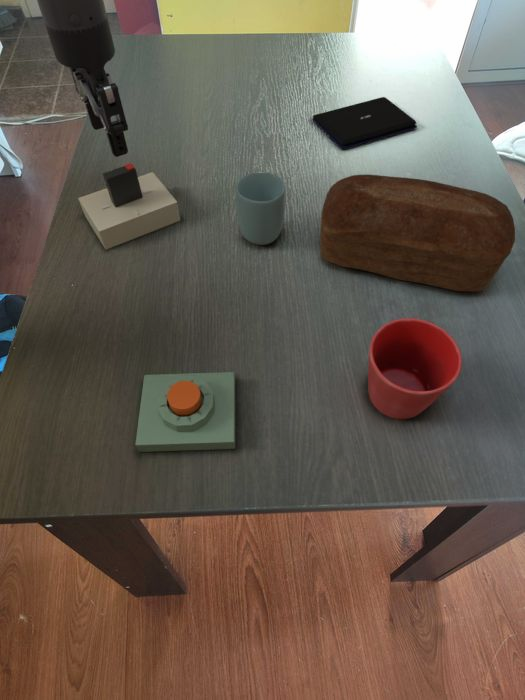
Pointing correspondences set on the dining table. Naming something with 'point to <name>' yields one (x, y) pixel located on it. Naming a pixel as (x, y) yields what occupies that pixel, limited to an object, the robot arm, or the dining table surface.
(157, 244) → the dining table surface
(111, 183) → the knob
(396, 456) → the dining table surface
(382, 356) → the flower pot
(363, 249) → the bread
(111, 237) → the panel
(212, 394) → the block
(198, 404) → the power button
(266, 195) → the cup
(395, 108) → the laptop
